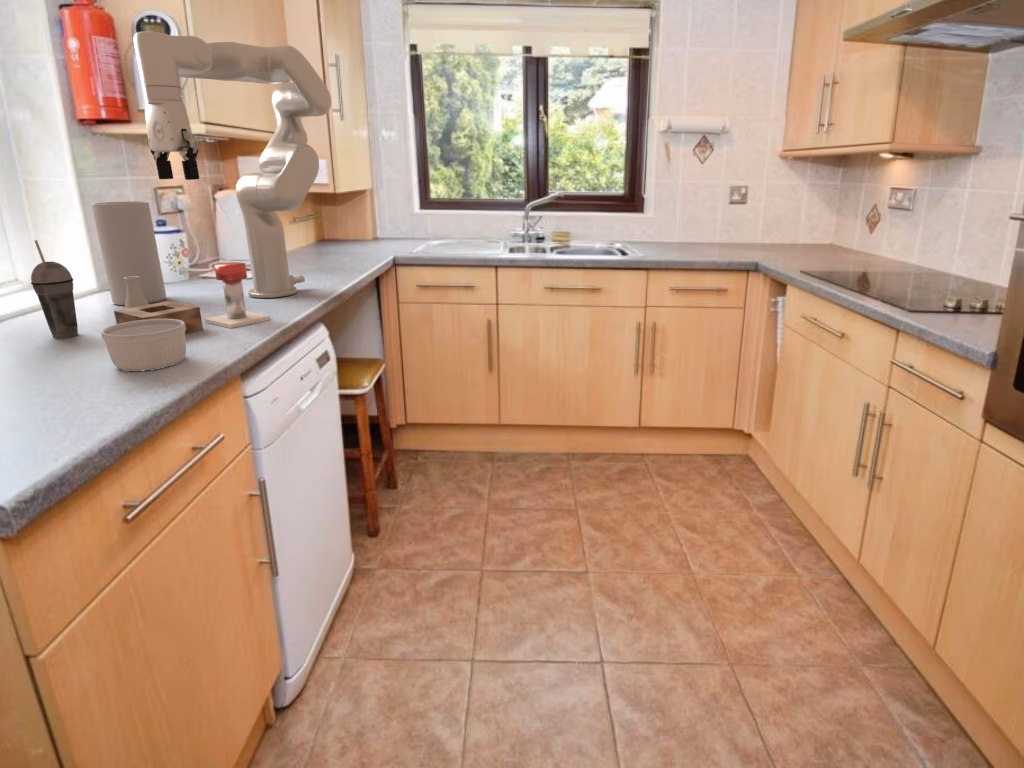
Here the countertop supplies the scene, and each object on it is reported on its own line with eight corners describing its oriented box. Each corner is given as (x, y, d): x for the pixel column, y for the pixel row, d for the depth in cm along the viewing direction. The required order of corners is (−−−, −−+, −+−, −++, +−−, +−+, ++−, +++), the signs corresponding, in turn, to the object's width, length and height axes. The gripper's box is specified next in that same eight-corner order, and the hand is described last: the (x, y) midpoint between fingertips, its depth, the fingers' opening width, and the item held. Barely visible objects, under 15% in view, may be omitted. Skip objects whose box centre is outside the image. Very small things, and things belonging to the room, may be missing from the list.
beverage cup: (93, 333, 137) (71, 238, 131) (56, 342, 131) (31, 242, 125) (74, 329, 141) (52, 236, 134) (38, 337, 135) (12, 240, 128)
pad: (244, 313, 154) (243, 310, 154) (270, 319, 149) (269, 315, 148) (205, 322, 146) (204, 318, 146) (230, 328, 141) (230, 324, 141)
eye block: (173, 322, 147) (169, 300, 145) (203, 329, 140) (199, 307, 138) (118, 333, 137) (113, 310, 136) (147, 342, 131) (142, 318, 129)
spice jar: (216, 317, 147) (208, 264, 143) (241, 312, 152) (234, 261, 148) (232, 321, 143) (225, 267, 139) (257, 316, 148) (251, 264, 144)
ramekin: (155, 350, 125) (148, 315, 123) (207, 357, 121) (201, 320, 119) (92, 370, 114) (83, 332, 111) (146, 378, 109) (138, 338, 107)
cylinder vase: (108, 308, 162) (86, 205, 154) (116, 298, 173) (96, 202, 164) (164, 303, 166) (145, 203, 158) (168, 294, 177) (151, 200, 169)
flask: (149, 315, 154) (141, 273, 151) (163, 319, 150) (154, 276, 146) (117, 321, 149) (107, 277, 145) (130, 325, 144) (120, 281, 141)
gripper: (124, 97, 141) (141, 179, 147) (171, 93, 132) (187, 180, 138) (157, 99, 147) (172, 178, 153) (204, 95, 138) (218, 179, 144)
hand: (179, 179), depth 146 cm, fingers open, 9 cm apart
